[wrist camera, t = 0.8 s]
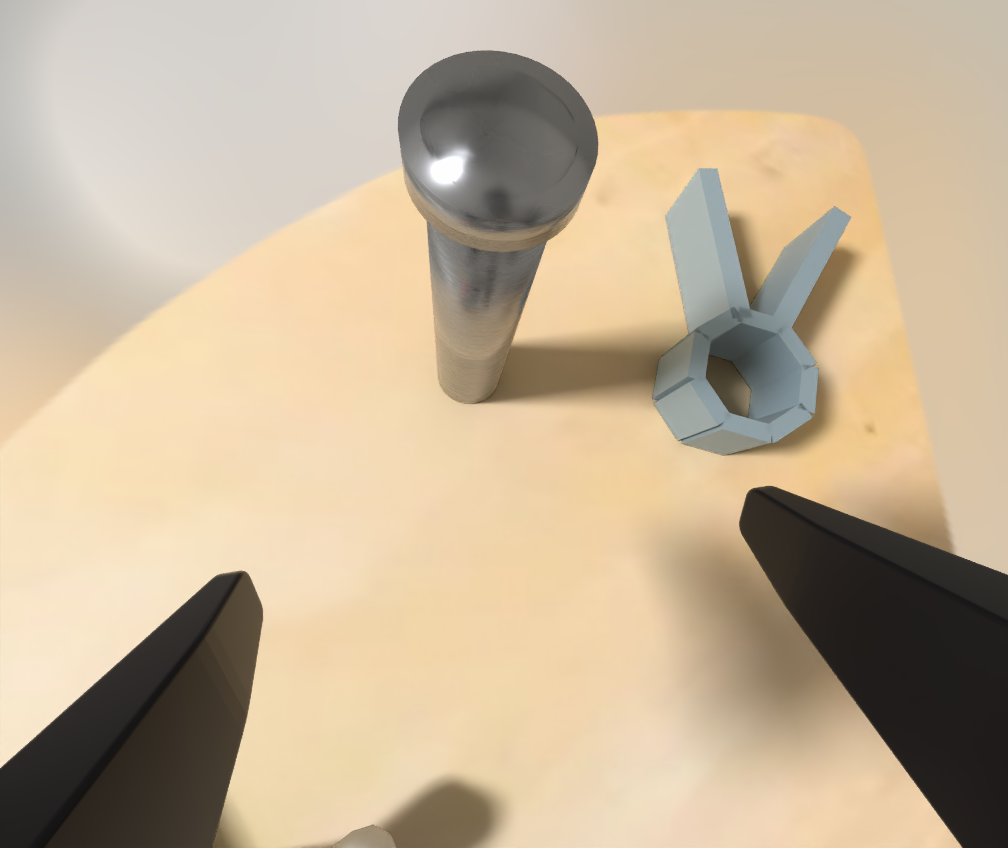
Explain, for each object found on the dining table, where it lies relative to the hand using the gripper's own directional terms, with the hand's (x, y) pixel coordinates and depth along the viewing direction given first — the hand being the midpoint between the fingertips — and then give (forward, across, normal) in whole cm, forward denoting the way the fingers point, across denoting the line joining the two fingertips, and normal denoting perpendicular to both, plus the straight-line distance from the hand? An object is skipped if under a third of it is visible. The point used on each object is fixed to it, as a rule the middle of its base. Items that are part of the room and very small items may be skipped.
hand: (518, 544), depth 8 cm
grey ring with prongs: (+15, -14, +2) cm, 21 cm away
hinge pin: (+15, -1, +2) cm, 15 cm away
